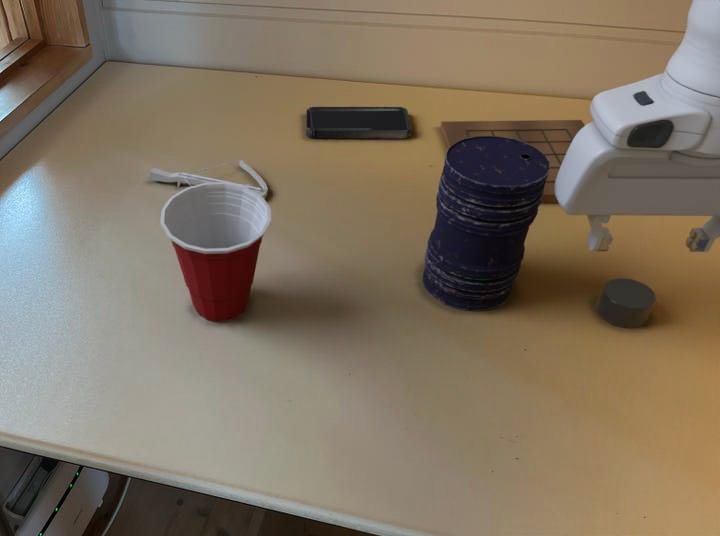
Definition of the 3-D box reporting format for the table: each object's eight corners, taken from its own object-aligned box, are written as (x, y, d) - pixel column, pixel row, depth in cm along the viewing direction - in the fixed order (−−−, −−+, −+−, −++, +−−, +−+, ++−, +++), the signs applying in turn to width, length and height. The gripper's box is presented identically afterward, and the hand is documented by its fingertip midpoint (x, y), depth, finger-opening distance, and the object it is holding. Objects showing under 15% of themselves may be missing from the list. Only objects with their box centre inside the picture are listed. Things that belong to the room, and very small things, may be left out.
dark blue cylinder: (439, 317, 75) (467, 192, 64) (408, 261, 81) (429, 141, 71) (529, 304, 76) (571, 180, 65) (491, 251, 82) (523, 130, 72)
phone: (306, 106, 108) (406, 106, 107) (306, 113, 108) (405, 113, 107) (306, 131, 102) (412, 131, 101) (306, 138, 103) (411, 138, 102)
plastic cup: (180, 348, 72) (168, 252, 64) (164, 284, 80) (152, 190, 71) (283, 330, 74) (284, 233, 65) (258, 268, 81) (256, 175, 73)
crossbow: (278, 177, 97) (279, 164, 96) (252, 228, 88) (252, 214, 87) (169, 156, 100) (168, 143, 98) (133, 203, 91) (132, 190, 90)
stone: (636, 296, 76) (645, 277, 74) (654, 328, 72) (664, 308, 71) (588, 296, 76) (596, 277, 74) (604, 328, 73) (613, 308, 71)
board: (578, 127, 103) (581, 118, 102) (627, 202, 89) (631, 193, 88) (439, 129, 104) (441, 120, 103) (466, 203, 90) (468, 194, 89)
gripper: (817, 95, 61) (740, 230, 71) (575, 95, 62) (532, 229, 71) (860, 129, 56) (772, 269, 66) (598, 129, 57) (549, 267, 67)
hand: (645, 248), depth 69 cm, fingers open, 8 cm apart
